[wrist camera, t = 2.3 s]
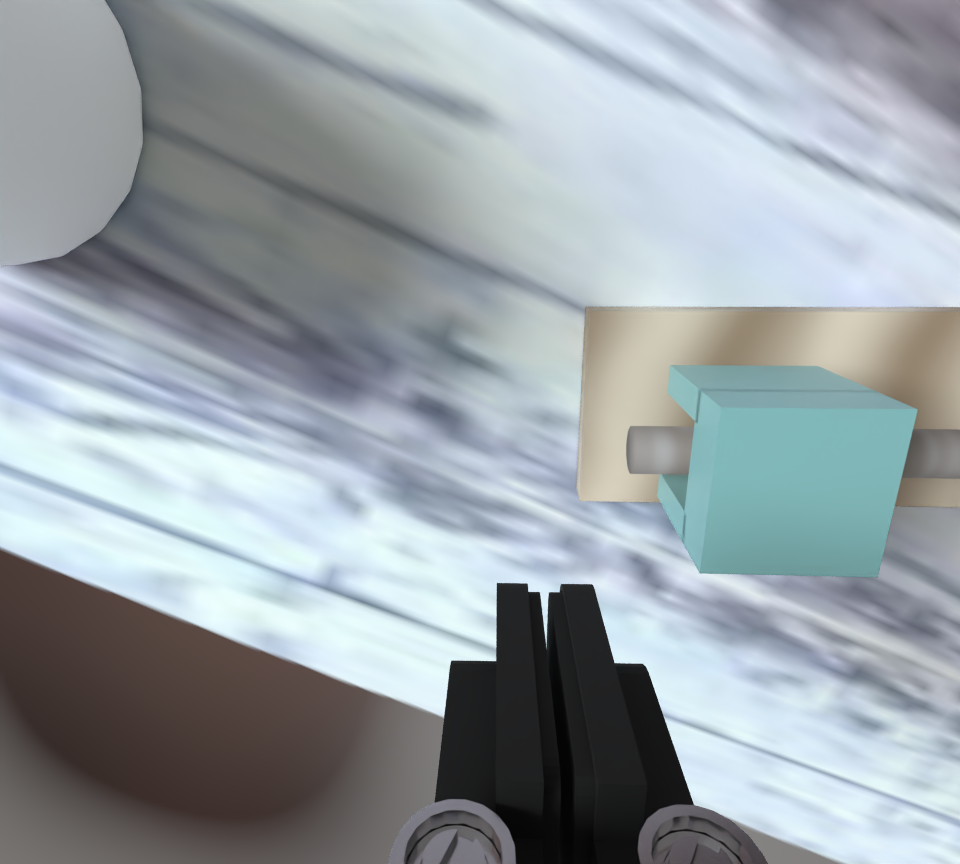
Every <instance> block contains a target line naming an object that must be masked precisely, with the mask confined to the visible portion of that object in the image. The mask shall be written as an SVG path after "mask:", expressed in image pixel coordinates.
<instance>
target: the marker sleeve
mask: <svg viewBox="0 0 960 864" xmlns="http://www.w3.org/2000/svg"><path fill="white" fill-rule="evenodd" d="M667 393H668V394H669V395H670V396H671V397H672V398H673V399H674V400H675V401H676V402H677V403H678V404H679V405H680V406H681V407H682V408H683V409H684V410H685V411H686V412H687V413H688V415H689V416H690V417H691V418H692V419H693V420H694V421H695V424H694V432H693V441H692V450H691V458H690V467H689V475H669V474H659V483H658V493H657V497H658V499H659V501H660V503H661V504H662V506H663V508H664V510H665V512H666V513H667V515H668V517H669V519H670V521H671V522H672V524H673V526H674V528H675V530H676V531H677V533H678V535H679V537H680V539H681V540H682V542H683V544H684V546H685V548H686V549H687V551H688V553H689V555H690V557H691V558H692V560H693V562H694V564H695V566H696V567H697V569H698V571H699V573H708V574H753V575H797V576H842V577H878V573H879V569H880V565H881V561H882V557H883V553H884V548H885V544H886V540H887V536H888V532H889V528H890V523H891V519H892V515H893V511H894V507H895V502H896V498H897V494H898V490H899V486H900V482H901V477H902V473H903V469H904V465H905V461H906V457H907V452H908V448H909V444H910V440H911V436H912V432H913V427H914V423H915V419H916V415H917V411H918V409H916V408H913V407H911V406H909V405H907V404H904V403H902V402H900V401H897V400H895V399H893V398H890V397H888V396H886V395H884V394H881V393H879V392H877V391H874V390H872V389H870V388H867V387H865V386H863V385H860V384H858V383H856V382H854V381H851V380H849V379H847V378H844V377H842V376H840V375H837V374H835V373H833V372H831V371H828V370H826V369H824V368H821V367H819V366H748V365H670V371H669V382H668V392H667Z"/></svg>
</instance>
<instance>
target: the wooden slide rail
mask: <svg viewBox="0 0 960 864" xmlns="http://www.w3.org/2000/svg"><path fill="white" fill-rule="evenodd" d="M670 365H748V366H819V367H821V368H824V369H826V370H828V371H831V372H833V373H835V374H837V375H840V376H842V377H844V378H847V379H849V380H851V381H854V382H856V383H858V384H860V385H863V386H865V387H867V388H870V389H872V390H874V391H877V392H879V393H881V394H884V395H886V396H888V397H890V398H893V399H895V400H897V401H900V402H902V403H904V404H907V405H909V406H911V407H913V408H916V409H918V411H917V415H916V419H915V423H914V427H913V432H912V436H911V440H910V444H909V448H908V452H907V457H906V461H905V465H904V469H903V473H902V477H901V482H900V486H899V490H898V494H897V498H896V502H895V506H909V507H960V307H586V308H585V327H584V347H583V366H582V385H581V405H580V424H579V444H578V463H577V483H576V488H577V491H578V495H579V499H580V501H612V502H660V501H659V499H658V497H657V493H658V483H659V474H669V475H689V467H690V458H691V450H692V441H693V432H694V424H695V421H694V420H693V419H692V418H691V417H690V416H689V415H688V413H687V412H686V411H685V410H684V409H683V408H682V407H681V406H680V405H679V404H678V403H677V402H676V401H675V400H674V399H673V398H672V397H671V396H670V395H669V394H668V393H667V392H668V382H669V371H670Z"/></svg>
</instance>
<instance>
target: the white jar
mask: <svg viewBox="0 0 960 864" xmlns="http://www.w3.org/2000/svg"><path fill="white" fill-rule="evenodd" d="M142 146H143V128H142V101H141V87H140V84H139V81H138V78H137V74H136V71H135V68H134V65H133V61H132V58H131V55H130V52H129V49H128V45H127V42H126V39H125V36H124V32H123V30H122V28H121V27H120V25H119V23H118V21H117V20H116V18H115V16H114V15H113V13H112V11H111V10H110V8H109V6H108V5H107V3H106V2H105V0H0V266H8V265H20V264H25V263H30V262H35V261H41V260H46V259H51V258H56V257H61V256H64V255H65V254H67V253H68V252H70V251H71V250H73V249H75V248H76V247H78V246H79V245H81V244H82V243H84V242H85V241H87V240H88V239H90V238H92V237H93V236H95V235H96V234H98V233H99V232H100V231H101V230H102V229H103V228H104V227H105V226H106V225H107V223H108V222H109V220H110V219H111V218H112V216H113V215H114V213H115V212H116V210H117V209H118V208H119V206H120V205H121V203H122V202H123V200H124V199H125V198H126V196H127V195H128V193H129V192H130V190H131V186H132V183H133V179H134V175H135V172H136V168H137V164H138V160H139V157H140V153H141V149H142Z"/></svg>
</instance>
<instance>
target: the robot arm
mask: <svg viewBox="0 0 960 864" xmlns="http://www.w3.org/2000/svg"><path fill="white" fill-rule="evenodd" d="M387 864H768V863H767V861H766V859H765V858H764V856H763V854H762V853H761V851H760V850H759V849H758V847H757V846H756V845H755V843H754V842H753V841H752V839H751V838H750V837H749V836H748V835H747V834H746V833H745V832H744V831H743V830H741V829H740V828H739V827H738V826H737V825H736V824H735V823H733V822H732V821H731V820H729V819H727V818H725V817H723V816H722V815H720V814H718V813H716V812H714V811H712V810H709V809H705V808H702V807H699V806H695V805H694V804H693V801H692V798H691V795H690V792H689V789H688V786H687V784H686V781H685V778H684V775H683V772H682V769H681V766H680V763H679V760H678V757H677V754H676V751H675V749H674V746H673V743H672V740H671V737H670V734H669V731H668V728H667V725H666V722H665V719H664V716H663V714H662V711H661V708H660V705H659V702H658V699H657V696H656V693H655V690H654V687H653V684H652V681H651V679H650V676H649V673H648V671H647V668H646V667H645V666H644V665H643V664H621V663H614V660H613V656H612V652H611V649H610V645H609V641H608V638H607V634H606V630H605V626H604V623H603V619H602V615H601V612H600V608H599V604H598V601H597V597H596V593H595V589H594V587H593V585H592V584H561V587H560V592H549V598H548V623H547V650H546V641H545V633H544V624H543V615H542V607H541V598H540V592H528V584H518V583H497V647H496V661H451V665H450V672H449V681H448V690H447V699H446V707H445V716H444V725H443V734H442V743H441V752H440V760H439V769H438V779H437V787H436V797H435V803H432V804H430V805H428V806H427V807H425V808H423V809H421V810H420V811H418V812H416V813H415V814H414V815H413V816H412V817H411V818H410V819H409V820H408V822H407V823H406V824H405V825H404V826H403V827H402V828H401V830H400V832H399V834H398V836H397V838H396V841H395V842H394V844H393V847H392V851H391V854H390V856H389V859H388V863H387Z"/></svg>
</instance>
